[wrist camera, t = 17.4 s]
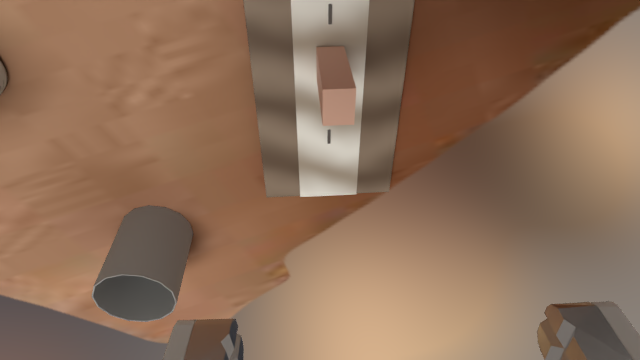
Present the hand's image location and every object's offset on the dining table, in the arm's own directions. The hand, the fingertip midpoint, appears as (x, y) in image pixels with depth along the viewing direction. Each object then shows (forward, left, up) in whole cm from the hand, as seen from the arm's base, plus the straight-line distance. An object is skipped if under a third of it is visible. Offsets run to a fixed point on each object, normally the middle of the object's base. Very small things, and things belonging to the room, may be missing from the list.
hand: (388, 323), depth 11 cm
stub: (+5, +1, -29) cm, 29 cm away
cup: (+27, -20, -31) cm, 46 cm away
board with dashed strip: (+10, +1, -31) cm, 32 cm away
